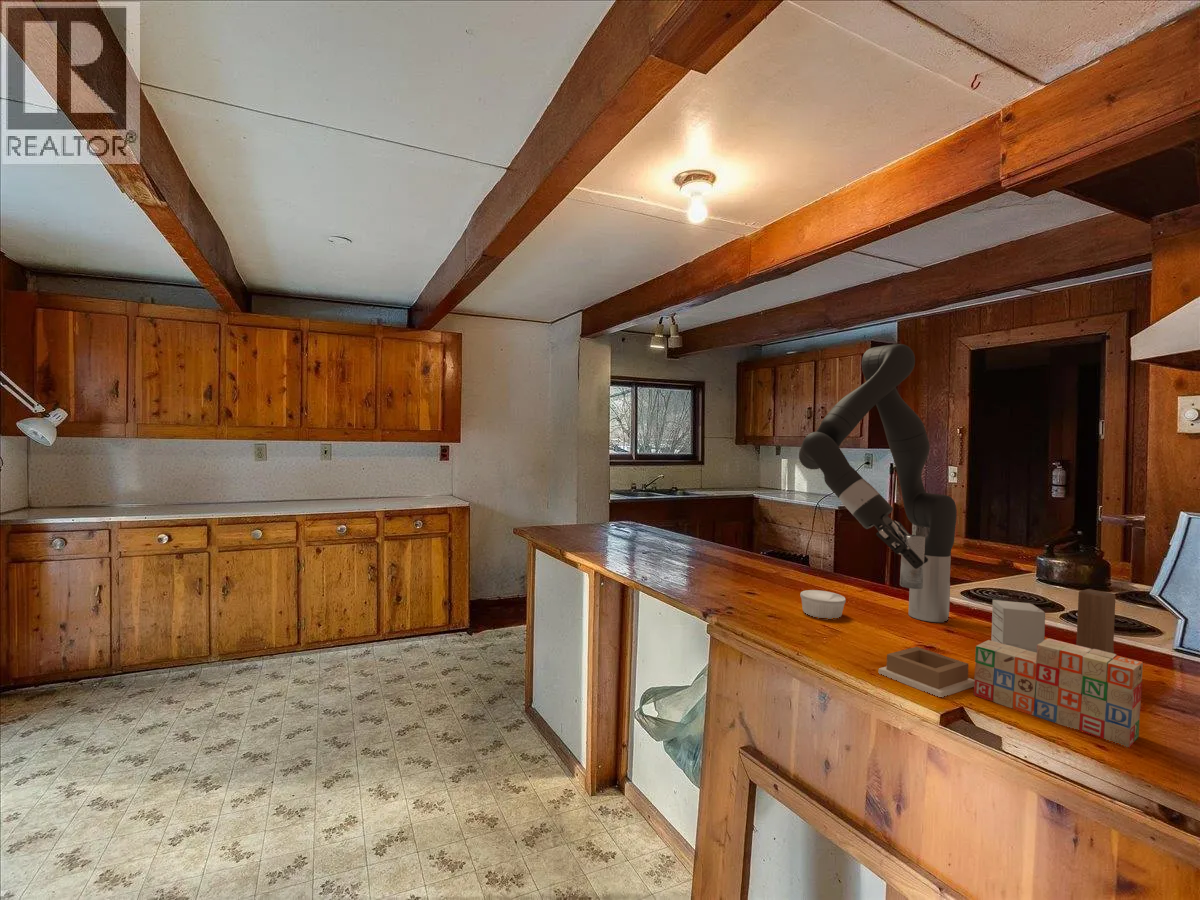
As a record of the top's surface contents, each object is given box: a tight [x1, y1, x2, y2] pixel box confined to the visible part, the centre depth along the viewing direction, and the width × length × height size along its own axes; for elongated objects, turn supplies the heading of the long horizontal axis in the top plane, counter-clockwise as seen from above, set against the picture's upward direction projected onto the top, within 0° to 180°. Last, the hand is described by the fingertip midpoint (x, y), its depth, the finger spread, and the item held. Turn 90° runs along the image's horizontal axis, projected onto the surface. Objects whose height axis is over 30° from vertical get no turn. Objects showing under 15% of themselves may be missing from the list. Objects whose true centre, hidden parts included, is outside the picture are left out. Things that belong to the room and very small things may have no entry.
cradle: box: [878, 646, 975, 698], centre depth 110 cm, size 12×12×4 cm
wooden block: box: [1075, 588, 1117, 654], centre depth 112 cm, size 9×4×18 cm, turn 121°
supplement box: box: [990, 599, 1046, 653], centre depth 119 cm, size 7×7×13 cm
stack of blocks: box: [973, 637, 1144, 749], centre depth 96 cm, size 21×6×12 cm, turn 37°
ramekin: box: [799, 589, 846, 620], centre depth 152 cm, size 11×11×5 cm
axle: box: [899, 534, 926, 589], centre depth 124 cm, size 4×4×11 cm
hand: (922, 564), depth 123 cm, fingers closed on axle, 4 cm apart
